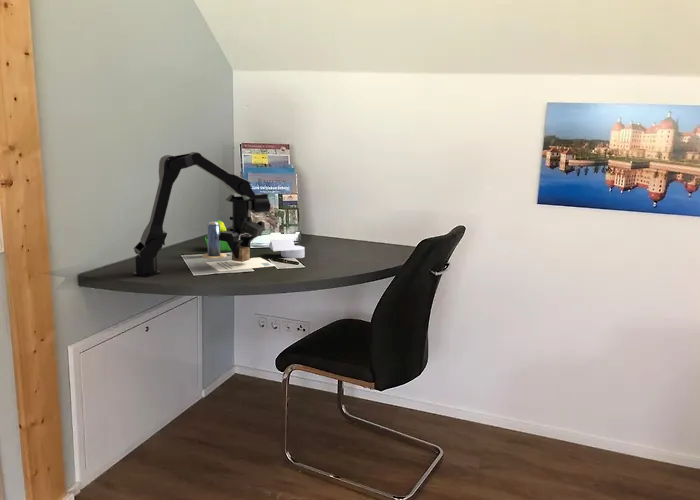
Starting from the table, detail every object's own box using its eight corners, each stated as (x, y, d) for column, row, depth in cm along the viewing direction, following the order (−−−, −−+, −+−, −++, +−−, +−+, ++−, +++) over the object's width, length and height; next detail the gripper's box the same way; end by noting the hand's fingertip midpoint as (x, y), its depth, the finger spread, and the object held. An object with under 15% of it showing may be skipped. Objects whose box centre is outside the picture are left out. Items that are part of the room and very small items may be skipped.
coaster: (217, 260, 230) (217, 258, 229) (197, 257, 233) (197, 256, 233) (231, 255, 238) (231, 254, 237) (211, 253, 241) (211, 251, 241)
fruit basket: (205, 252, 243) (204, 223, 241) (205, 247, 251) (204, 219, 249) (235, 251, 246) (235, 223, 243) (234, 247, 254) (234, 219, 252)
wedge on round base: (273, 259, 233) (307, 258, 238) (273, 242, 232) (307, 240, 236) (268, 254, 242) (301, 253, 246) (268, 237, 240) (301, 236, 245)
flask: (217, 256, 233) (217, 223, 230) (206, 256, 233) (205, 222, 231) (222, 254, 237) (221, 221, 235) (210, 253, 238) (210, 221, 235)
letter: (219, 272, 212) (219, 271, 212) (205, 263, 225) (205, 262, 225) (276, 266, 223) (276, 265, 223) (260, 258, 235) (260, 257, 235)
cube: (242, 262, 220) (242, 249, 219) (231, 260, 222) (231, 248, 221) (249, 259, 224) (249, 247, 223) (239, 258, 226) (239, 246, 225)
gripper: (244, 219, 208) (245, 265, 212) (274, 212, 225) (273, 255, 228) (217, 216, 213) (217, 261, 216) (247, 210, 229) (247, 251, 233)
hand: (240, 257), depth 223 cm, fingers closed on cube, 4 cm apart
